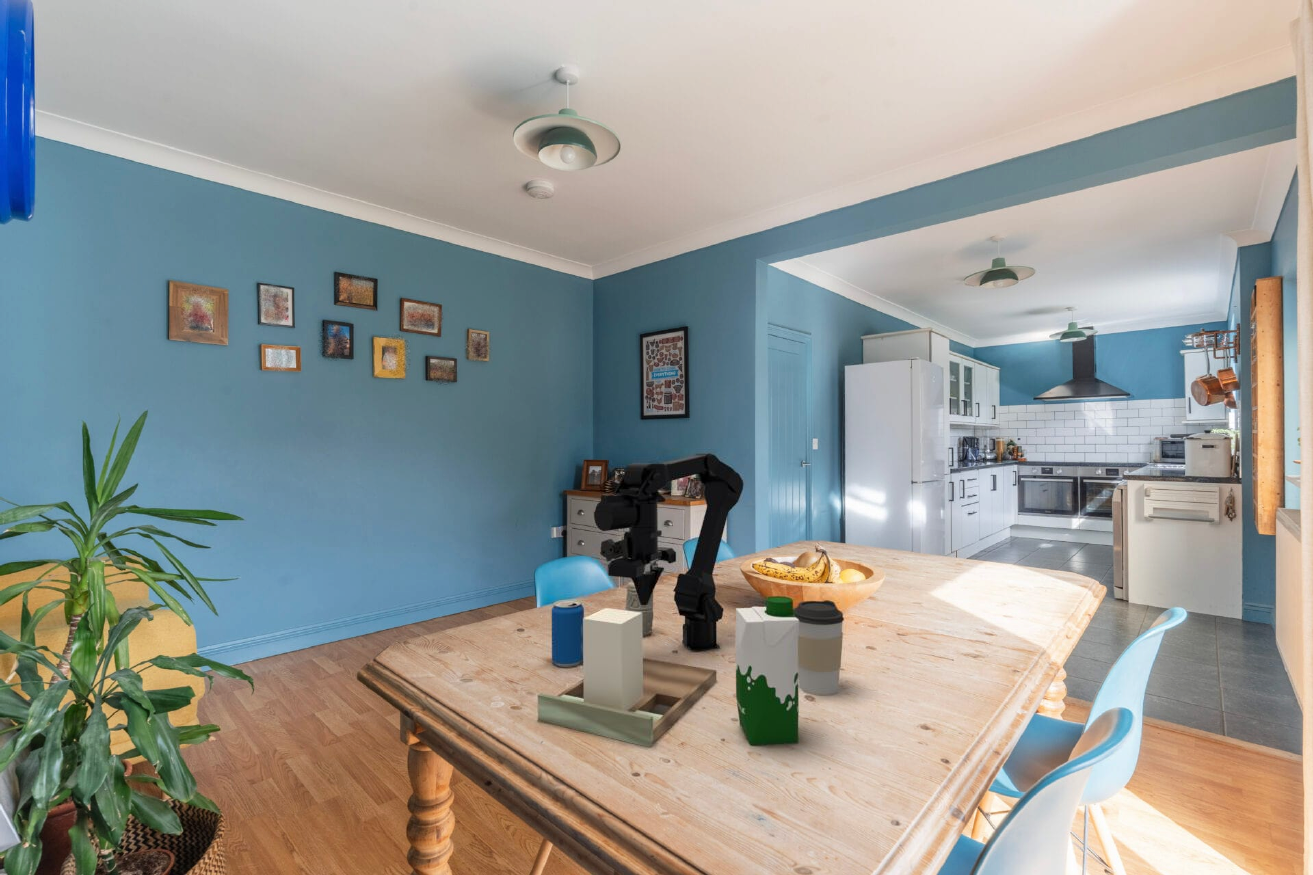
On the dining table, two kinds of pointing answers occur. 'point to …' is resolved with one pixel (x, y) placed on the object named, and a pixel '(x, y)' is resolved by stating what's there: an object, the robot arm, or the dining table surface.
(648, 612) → the carving
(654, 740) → the tray
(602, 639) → the cream block
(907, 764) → the dining table surface
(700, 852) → the dining table surface
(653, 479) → the robot arm
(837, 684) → the coffee cup
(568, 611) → the beverage can
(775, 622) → the milk carton
